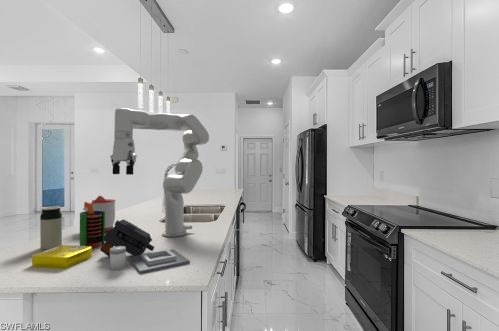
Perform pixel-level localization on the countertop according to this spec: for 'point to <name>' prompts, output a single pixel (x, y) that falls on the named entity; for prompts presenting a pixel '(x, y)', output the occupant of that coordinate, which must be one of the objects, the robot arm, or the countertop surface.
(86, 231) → the motor
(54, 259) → the element tile
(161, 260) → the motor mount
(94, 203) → the citrus juicer
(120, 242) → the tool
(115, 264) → the white domed cylinder
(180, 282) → the countertop surface
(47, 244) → the travel mug
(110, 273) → the countertop surface
